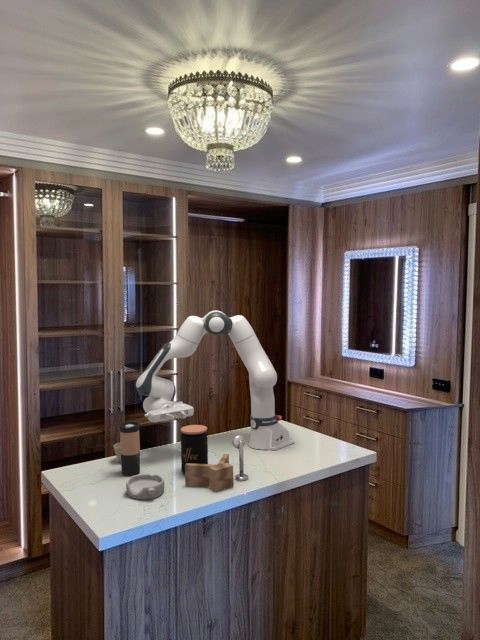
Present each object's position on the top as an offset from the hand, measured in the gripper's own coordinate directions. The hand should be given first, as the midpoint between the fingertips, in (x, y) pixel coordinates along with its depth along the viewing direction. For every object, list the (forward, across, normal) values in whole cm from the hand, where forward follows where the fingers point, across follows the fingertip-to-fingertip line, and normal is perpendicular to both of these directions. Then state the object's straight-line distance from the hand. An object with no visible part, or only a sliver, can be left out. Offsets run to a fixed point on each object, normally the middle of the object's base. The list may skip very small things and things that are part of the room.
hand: (179, 417), depth 203 cm
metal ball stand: (+29, +11, +20) cm, 37 cm away
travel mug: (-3, -21, +20) cm, 29 cm away
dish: (+18, -24, +20) cm, 36 cm away
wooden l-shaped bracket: (+27, 0, +20) cm, 34 cm away
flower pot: (-18, -17, +20) cm, 32 cm away
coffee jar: (+12, 0, +20) cm, 24 cm away
